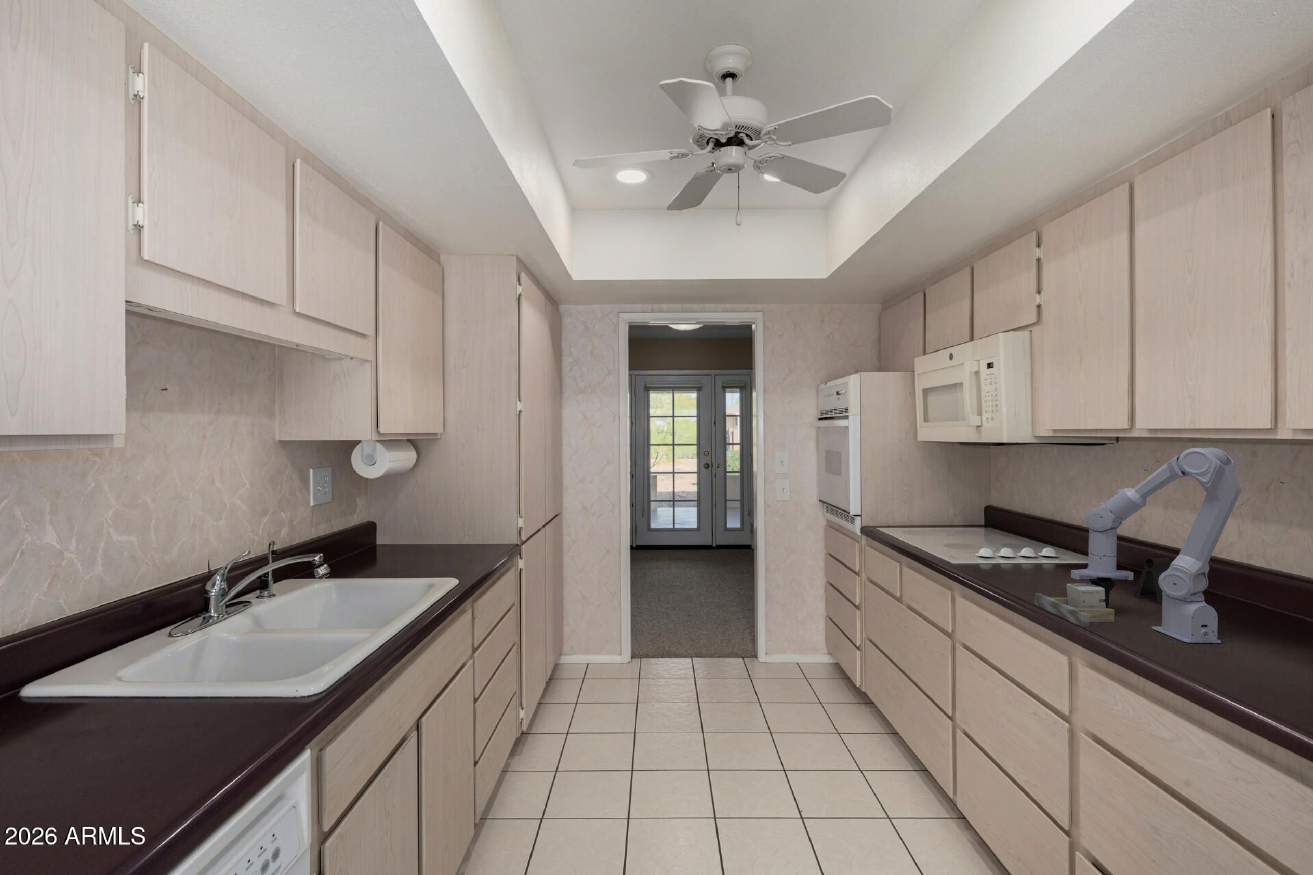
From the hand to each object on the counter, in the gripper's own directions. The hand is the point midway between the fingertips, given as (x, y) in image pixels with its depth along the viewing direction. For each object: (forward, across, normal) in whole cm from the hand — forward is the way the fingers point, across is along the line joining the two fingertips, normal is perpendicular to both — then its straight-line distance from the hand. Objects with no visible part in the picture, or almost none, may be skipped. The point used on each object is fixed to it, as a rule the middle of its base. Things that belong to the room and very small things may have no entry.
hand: (1100, 606), depth 150 cm
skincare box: (+2, +4, 0) cm, 4 cm away
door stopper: (+3, -26, -14) cm, 30 cm away
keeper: (+2, +6, 0) cm, 6 cm away
